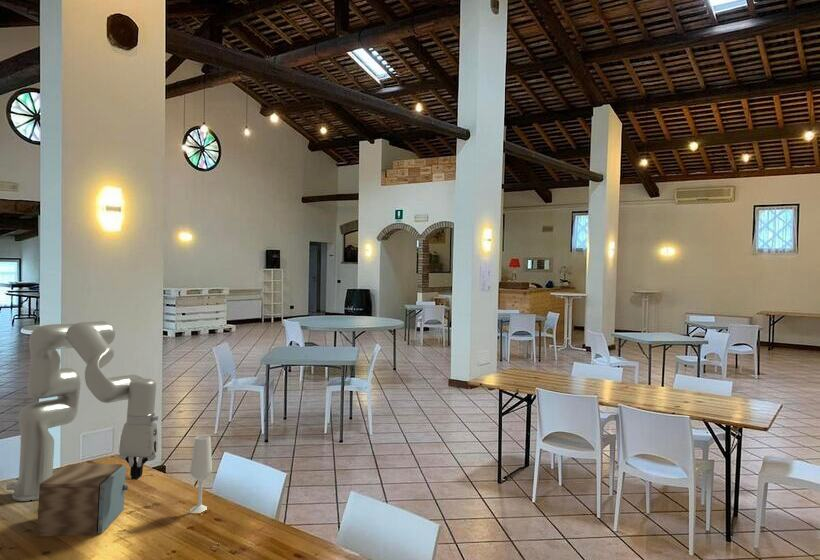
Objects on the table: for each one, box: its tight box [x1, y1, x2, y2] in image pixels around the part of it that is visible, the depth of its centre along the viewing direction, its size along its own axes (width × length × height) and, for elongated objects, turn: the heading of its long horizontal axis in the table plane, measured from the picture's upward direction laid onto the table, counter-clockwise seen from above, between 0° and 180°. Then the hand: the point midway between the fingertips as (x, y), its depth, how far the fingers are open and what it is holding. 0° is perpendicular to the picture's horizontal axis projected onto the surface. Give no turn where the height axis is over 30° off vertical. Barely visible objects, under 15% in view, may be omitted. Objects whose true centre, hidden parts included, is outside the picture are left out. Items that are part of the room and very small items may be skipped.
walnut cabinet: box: [36, 463, 123, 537], centre depth 161 cm, size 16×17×15 cm
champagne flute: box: [189, 434, 213, 514], centre depth 173 cm, size 7×7×24 cm
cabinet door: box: [98, 465, 129, 534], centre depth 162 cm, size 2×17×14 cm, turn 9°
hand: (136, 478), depth 163 cm, fingers closed
